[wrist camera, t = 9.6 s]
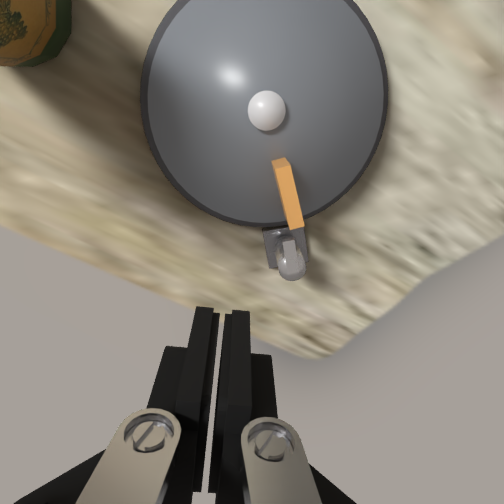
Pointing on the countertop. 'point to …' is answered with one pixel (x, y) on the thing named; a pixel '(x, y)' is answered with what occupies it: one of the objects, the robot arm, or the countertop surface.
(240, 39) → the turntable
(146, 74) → the turntable base
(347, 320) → the countertop surface
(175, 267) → the countertop surface
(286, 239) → the capsule on square base
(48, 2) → the bottle
